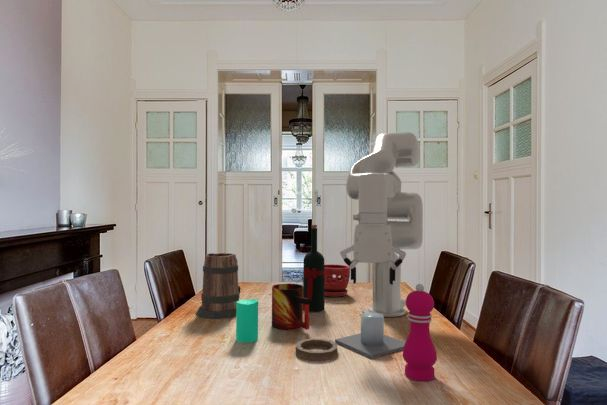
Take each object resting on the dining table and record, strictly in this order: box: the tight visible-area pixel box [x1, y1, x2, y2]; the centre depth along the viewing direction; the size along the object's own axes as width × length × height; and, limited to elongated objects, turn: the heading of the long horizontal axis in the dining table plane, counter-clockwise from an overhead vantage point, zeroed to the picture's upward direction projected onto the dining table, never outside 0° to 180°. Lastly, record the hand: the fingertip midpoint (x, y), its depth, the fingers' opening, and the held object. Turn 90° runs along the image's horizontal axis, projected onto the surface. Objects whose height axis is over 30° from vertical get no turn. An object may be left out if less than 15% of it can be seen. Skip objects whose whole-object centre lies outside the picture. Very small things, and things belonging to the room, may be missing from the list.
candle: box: [235, 295, 259, 344], centre depth 112 cm, size 6×6×12 cm
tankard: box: [194, 252, 241, 320], centre depth 143 cm, size 24×17×20 cm
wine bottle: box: [302, 224, 326, 313], centre depth 143 cm, size 8×10×30 cm
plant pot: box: [324, 264, 351, 298], centre depth 168 cm, size 13×13×12 cm
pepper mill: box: [402, 283, 438, 382], centre depth 89 cm, size 7×7×20 cm
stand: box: [295, 337, 338, 362], centre depth 102 cm, size 10×10×2 cm
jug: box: [360, 309, 385, 346], centre depth 110 cm, size 10×6×7 cm, turn 7°
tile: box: [334, 332, 406, 360], centre depth 108 cm, size 14×14×1 cm
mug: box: [271, 283, 310, 331], centre depth 124 cm, size 10×14×12 cm
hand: (372, 283), depth 109 cm, fingers open, 9 cm apart
